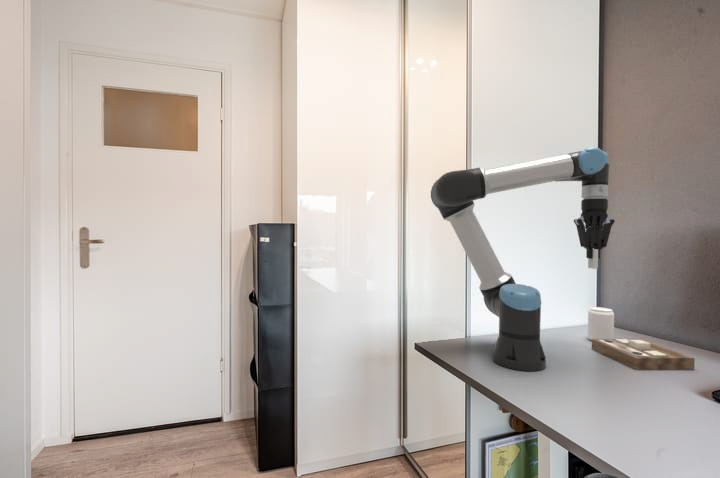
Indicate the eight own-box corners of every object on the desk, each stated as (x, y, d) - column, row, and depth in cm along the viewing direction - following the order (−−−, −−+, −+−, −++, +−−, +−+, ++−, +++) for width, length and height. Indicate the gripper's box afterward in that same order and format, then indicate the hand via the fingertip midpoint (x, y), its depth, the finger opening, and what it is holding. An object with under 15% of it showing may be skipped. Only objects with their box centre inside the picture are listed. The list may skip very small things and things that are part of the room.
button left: (623, 352, 120) (623, 342, 120) (614, 349, 124) (614, 339, 124) (634, 352, 120) (635, 342, 120) (625, 349, 124) (625, 339, 124)
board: (635, 369, 106) (635, 357, 106) (591, 348, 125) (591, 338, 125) (694, 369, 107) (694, 356, 107) (641, 348, 126) (642, 338, 126)
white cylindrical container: (618, 344, 131) (619, 311, 131) (596, 343, 131) (597, 311, 131) (604, 337, 139) (604, 306, 139) (583, 337, 139) (583, 306, 139)
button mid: (638, 354, 114) (638, 343, 114) (628, 350, 118) (628, 339, 118) (650, 354, 114) (650, 343, 114) (639, 349, 118) (640, 339, 118)
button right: (654, 366, 108) (654, 355, 108) (643, 361, 112) (643, 350, 112) (666, 366, 108) (667, 355, 108) (655, 361, 112) (655, 350, 112)
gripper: (583, 197, 118) (581, 269, 118) (621, 197, 118) (619, 269, 118) (568, 199, 125) (567, 267, 125) (605, 199, 125) (603, 267, 126)
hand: (592, 268), depth 122 cm, fingers closed
